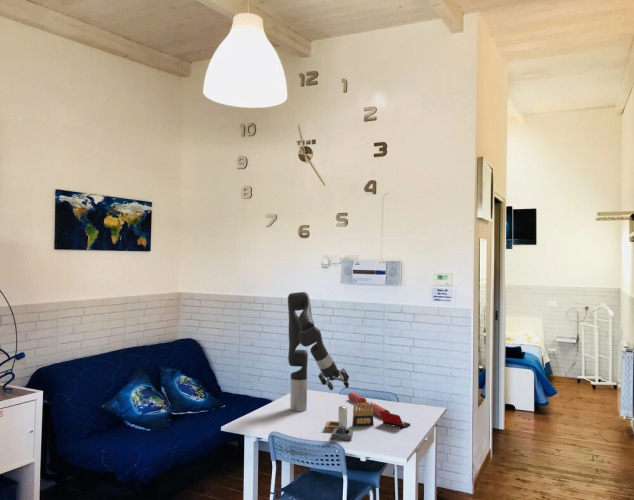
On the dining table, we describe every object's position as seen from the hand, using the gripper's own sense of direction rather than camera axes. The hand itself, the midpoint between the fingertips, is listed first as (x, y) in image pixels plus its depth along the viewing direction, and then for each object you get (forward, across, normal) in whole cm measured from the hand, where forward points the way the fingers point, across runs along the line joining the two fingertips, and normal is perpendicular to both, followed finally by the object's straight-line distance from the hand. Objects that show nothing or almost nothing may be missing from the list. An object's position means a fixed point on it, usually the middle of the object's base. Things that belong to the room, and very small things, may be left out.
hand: (340, 388), depth 263 cm
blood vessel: (+42, +11, -28) cm, 52 cm away
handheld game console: (+36, -13, -7) cm, 39 cm away
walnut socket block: (+19, +10, +8) cm, 22 cm away
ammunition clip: (+28, +1, -2) cm, 28 cm away
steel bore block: (+16, +1, +16) cm, 23 cm away
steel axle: (+16, +1, +16) cm, 23 cm away
